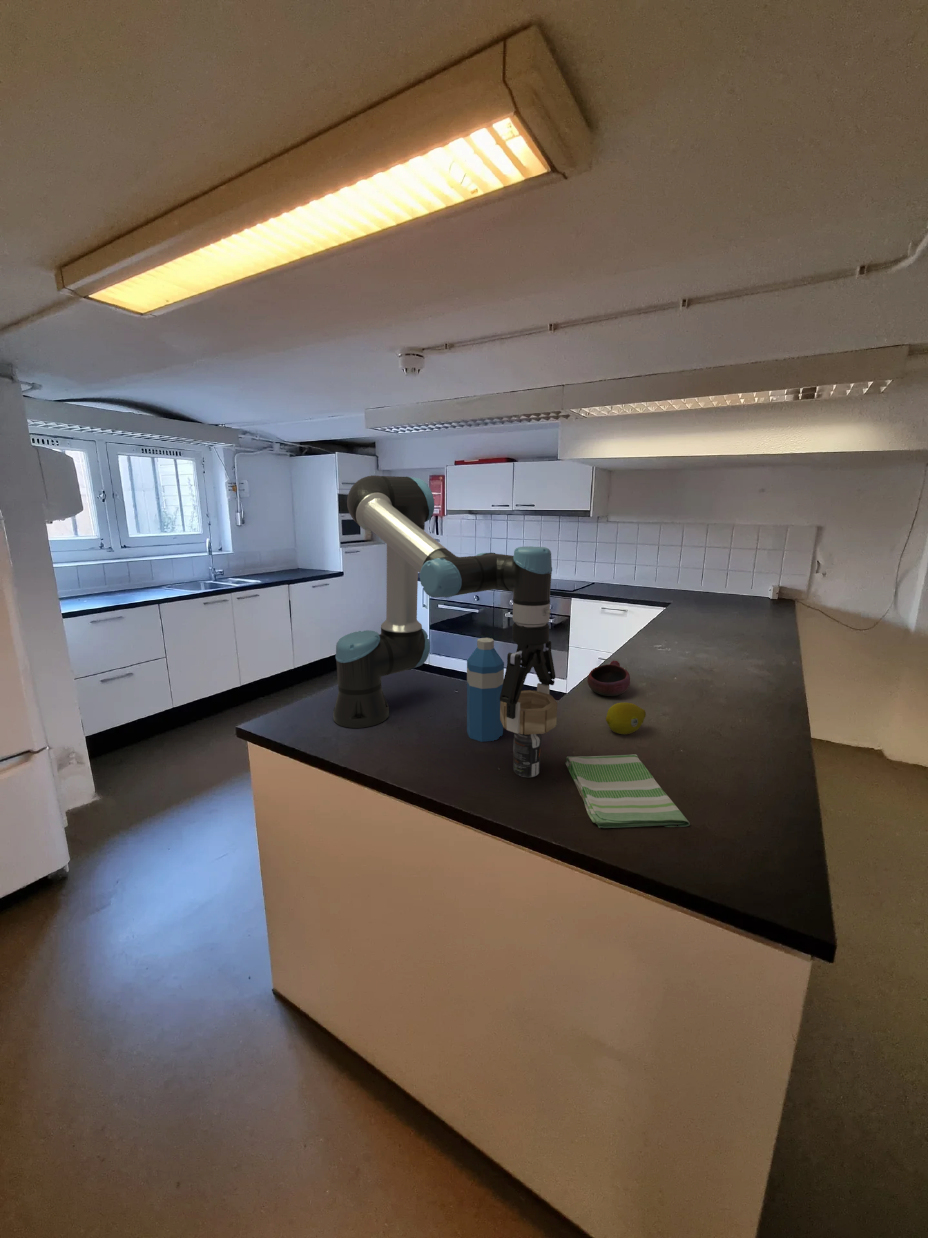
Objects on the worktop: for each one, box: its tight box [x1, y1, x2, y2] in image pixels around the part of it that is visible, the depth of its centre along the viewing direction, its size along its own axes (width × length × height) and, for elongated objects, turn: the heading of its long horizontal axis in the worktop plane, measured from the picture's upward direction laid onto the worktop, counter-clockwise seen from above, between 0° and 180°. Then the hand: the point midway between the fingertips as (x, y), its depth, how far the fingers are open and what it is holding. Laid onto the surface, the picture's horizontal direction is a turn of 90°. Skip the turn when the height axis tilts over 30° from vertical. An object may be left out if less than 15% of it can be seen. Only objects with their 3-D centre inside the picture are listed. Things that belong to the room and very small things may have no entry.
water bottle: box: [466, 637, 505, 743], centre depth 122 cm, size 9×9×25 cm
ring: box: [500, 689, 558, 735], centre depth 104 cm, size 11×11×5 cm
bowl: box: [586, 660, 631, 697], centre depth 152 cm, size 16×13×8 cm
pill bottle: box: [512, 733, 542, 778], centre depth 106 cm, size 6×6×11 cm
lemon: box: [605, 701, 647, 735], centre depth 125 cm, size 11×8×8 cm
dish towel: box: [564, 754, 691, 829], centre depth 100 cm, size 18×23×3 cm
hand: (528, 721), depth 105 cm, fingers closed on ring, 11 cm apart
